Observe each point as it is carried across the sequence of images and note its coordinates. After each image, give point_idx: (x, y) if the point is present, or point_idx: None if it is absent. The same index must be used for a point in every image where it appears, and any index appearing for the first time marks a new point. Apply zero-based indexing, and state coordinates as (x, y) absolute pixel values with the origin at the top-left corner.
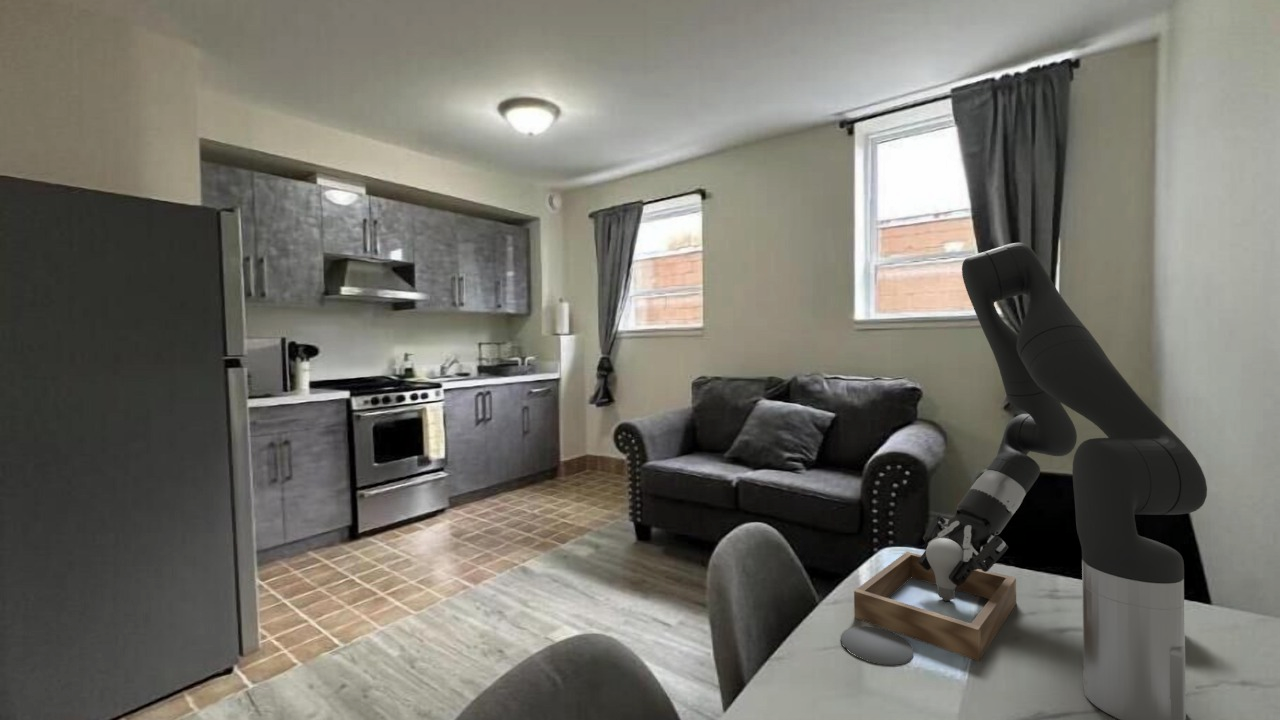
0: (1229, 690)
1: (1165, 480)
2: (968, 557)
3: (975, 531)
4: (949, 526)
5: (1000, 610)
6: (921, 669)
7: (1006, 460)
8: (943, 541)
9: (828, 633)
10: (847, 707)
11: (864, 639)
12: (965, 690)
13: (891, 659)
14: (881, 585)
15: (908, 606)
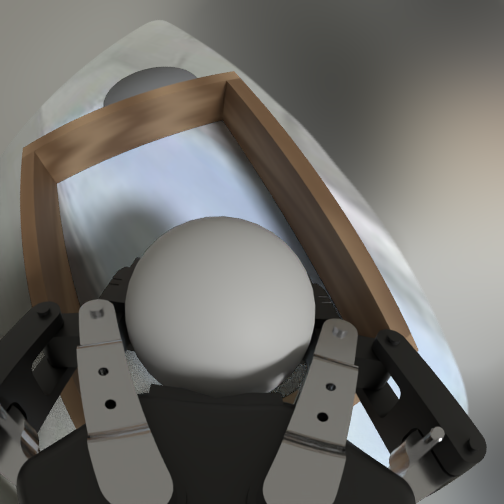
0: None
1: None
2: (85, 315)
3: (102, 494)
4: (340, 443)
5: None
6: (87, 108)
7: None
8: (202, 252)
9: (208, 71)
10: (108, 49)
11: (166, 84)
12: (42, 126)
13: (116, 88)
14: (267, 150)
15: (133, 99)
